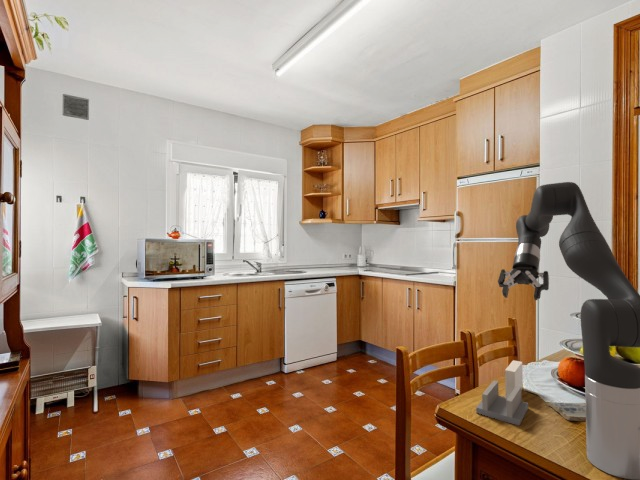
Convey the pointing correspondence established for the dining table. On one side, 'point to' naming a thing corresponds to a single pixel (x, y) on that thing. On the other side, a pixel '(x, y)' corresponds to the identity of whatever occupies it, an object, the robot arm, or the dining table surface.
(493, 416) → the grey twin-fin stand
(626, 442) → the robot arm
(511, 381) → the cream rectangular slab
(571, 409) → the ceramic fragment
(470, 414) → the dining table surface
